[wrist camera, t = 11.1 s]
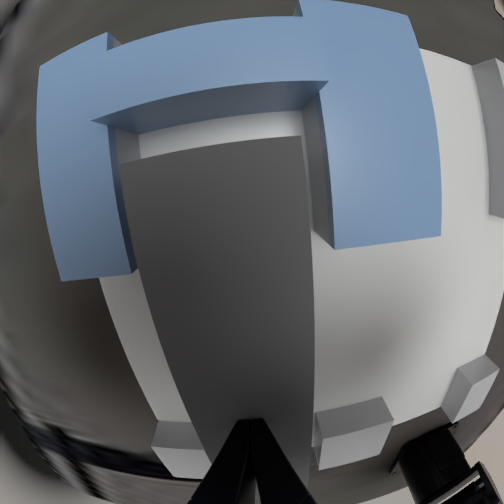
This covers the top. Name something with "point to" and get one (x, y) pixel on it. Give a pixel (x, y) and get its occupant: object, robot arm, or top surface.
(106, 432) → the top surface
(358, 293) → the white plate with bars
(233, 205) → the long grey beam
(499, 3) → the condiment
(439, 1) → the top surface
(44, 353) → the top surface
